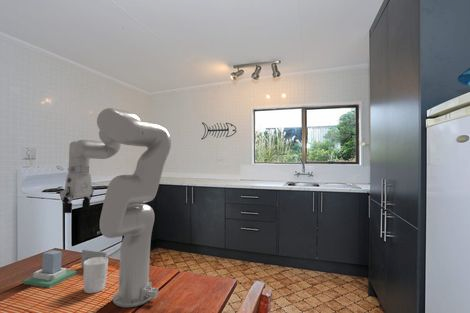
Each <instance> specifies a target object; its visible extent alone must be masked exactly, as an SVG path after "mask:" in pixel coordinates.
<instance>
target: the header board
mask: <svg viewBox="0 0 470 313" xmlns="http://www.w3.org/2000/svg"><path fill="white" fill-rule="evenodd" d="M32 274H33V275H32V276H31V277H28V278H25V279H23V280H22V284H23V285H29V286H36V287H42V288H52V287H53V286H56V285H58V284H61V283H62V282H64V281H65V280H68V279H70V278H72V277H73V276H76V275H78V272H77V270H72V269H71V270H70V269H68V268H65V267H61V271H59V272H57V273H54V274H47V273H42V268H41V269H39V270H36V271H35V272H32ZM75 274H76V275H75Z"/></svg>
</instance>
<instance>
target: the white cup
mask: <svg viewBox="0 0 470 313" xmlns="http://www.w3.org/2000/svg"><path fill="white" fill-rule="evenodd" d="M108 266H109V258H108V257H95V258H91V259H88V260H86V261H84V268H83V292H84V293H87V294H95V293H99V292H101V291H103V290H104V289H106V282H107V276H108V270H109V269H108Z"/></svg>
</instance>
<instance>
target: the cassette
mask: <svg viewBox="0 0 470 313" xmlns="http://www.w3.org/2000/svg"><path fill="white" fill-rule="evenodd" d="M107 254H108V253H107V252H106V251H100V250H99V251H98V250H93V249H92V250H91V249H82V250H81V266H80V267H84V261H86V260H88V259H91V258H95V257H106V258H108V257H107Z"/></svg>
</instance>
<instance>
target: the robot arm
mask: <svg viewBox="0 0 470 313" xmlns="http://www.w3.org/2000/svg"><path fill="white" fill-rule="evenodd" d="M96 126H97V127H98V129H99V131H98V136H99V139H100V140H92V139H91V140H89V139H79V140H77V141H71V142H70V143H69V149H68V153H69V154H68V168H67V171H68V173H67V175H66V178H65V184H64V185H65V186H64V189H63V190H62V191H60V192H59V197H60V200H61V202H62V204H63V213H64V214H71V213H72V212H73V202H72V201H74V200H73V199H80V198H82V199H83V200H82V206H81V207H82V208H81V209H82V210H90V208H91V206H90V205H91V200H92V197H93V195H94V192H95V189H94V188H92V177H91V173H90V159H95V160H97V159H98V160H106V159H110V158H112V157H114V156H115V155H116V154H117V153H119V151H120V149H121V146H122V145H124V146H132V147H133V146H135V147H142V148H143V147H145V148H147V149H146V150H145V151H144V152H143V153H142V154H141V155H140V157H138V160H137V162H136V166H135V170H134V172H133V173H132V174H119V175H117V176H114V177H113V178H112V179H111V180H110V182H109V184H108V185H107V188H106V192H105V195H104V200H103V205H102V209H101V213H100V218H99V231H100V232H101V234H102V236H104V237H105V238H107V239H114V238H115V239H116V238H120V237H123V239H122V240H121V244H120V252H119V274H118V291H117V292H116V293H115V294H113V297H112V302H113V304H114V305H115V306H116V307H120V308H134V307H138V306H142V305H144V304H146V303H148V302H149V301H150V300H151V299H152V298H156V299H157V297H159V296H158V295H159V288H158V287H153V286H152V283H153V282H152V281H150V258H151V257H150V256H151V240H152V232H153V229H154V228H153V227H154V223H155V216H156V215H155V212H154V209H153V207H151V206H150V205H149V204H147V203H149V202H151V201H154V199H155V197H156V196H157V192H158V189H159V186H160V182H161V178H162V175H163V170H164V166H165V163H166V160H167V158H168V156H169V153H170V150H171V147H172V139H171V135H170V133H169V131H168V130H167V128H165V127H164V126H162V125H159V124H157V123H154V122H150V121H144V120H141V119H140V117H139V116H138V115H137V114H135V113H133V112H129V111H126V110H122V109H117V108H112V107H111V108H110V107H108V108H105V109H102V110H101V111H100V112H99V113H98V115H97V117H96Z"/></svg>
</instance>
